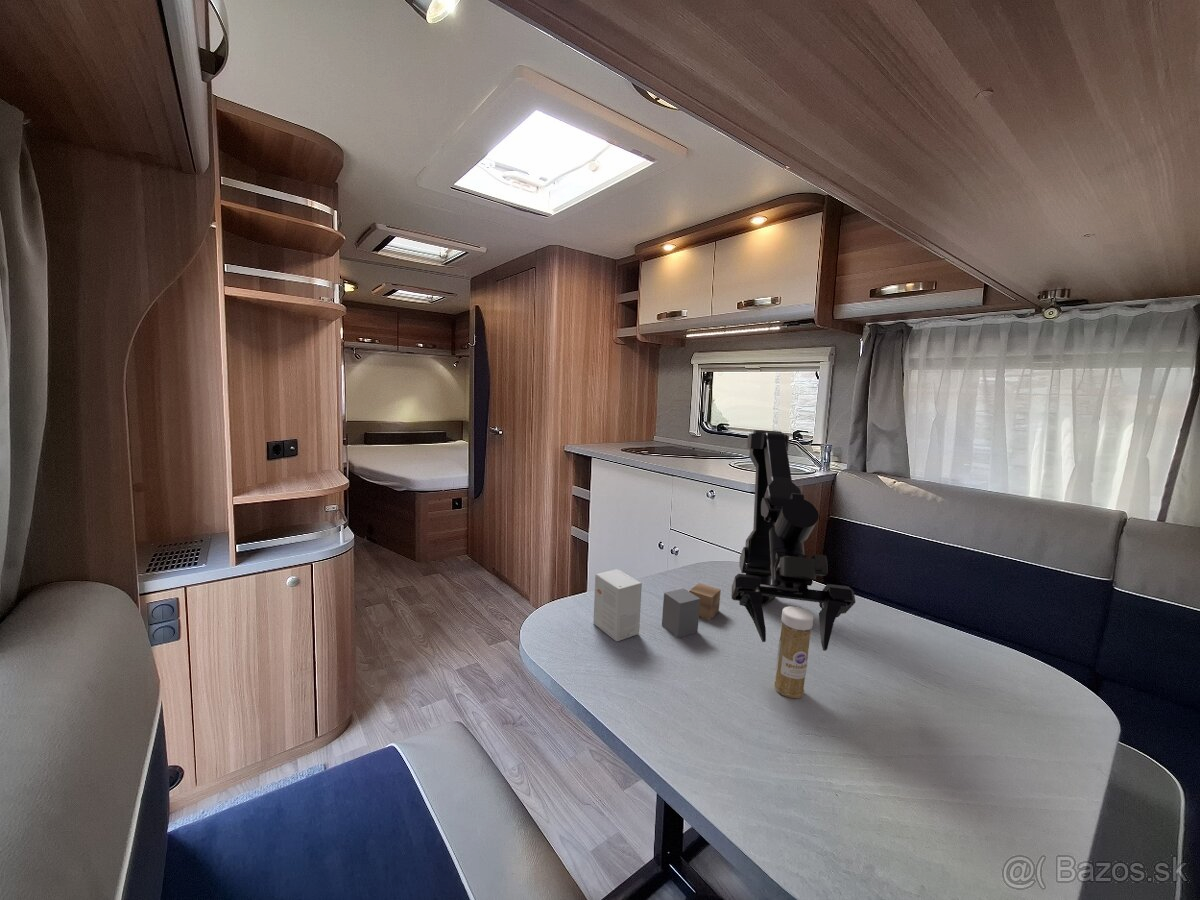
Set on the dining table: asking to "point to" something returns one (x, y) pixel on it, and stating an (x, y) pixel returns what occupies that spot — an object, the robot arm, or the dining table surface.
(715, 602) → the walnut cube
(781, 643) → the sprinkles bottle
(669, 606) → the gray block
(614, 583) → the small box
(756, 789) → the dining table surface
